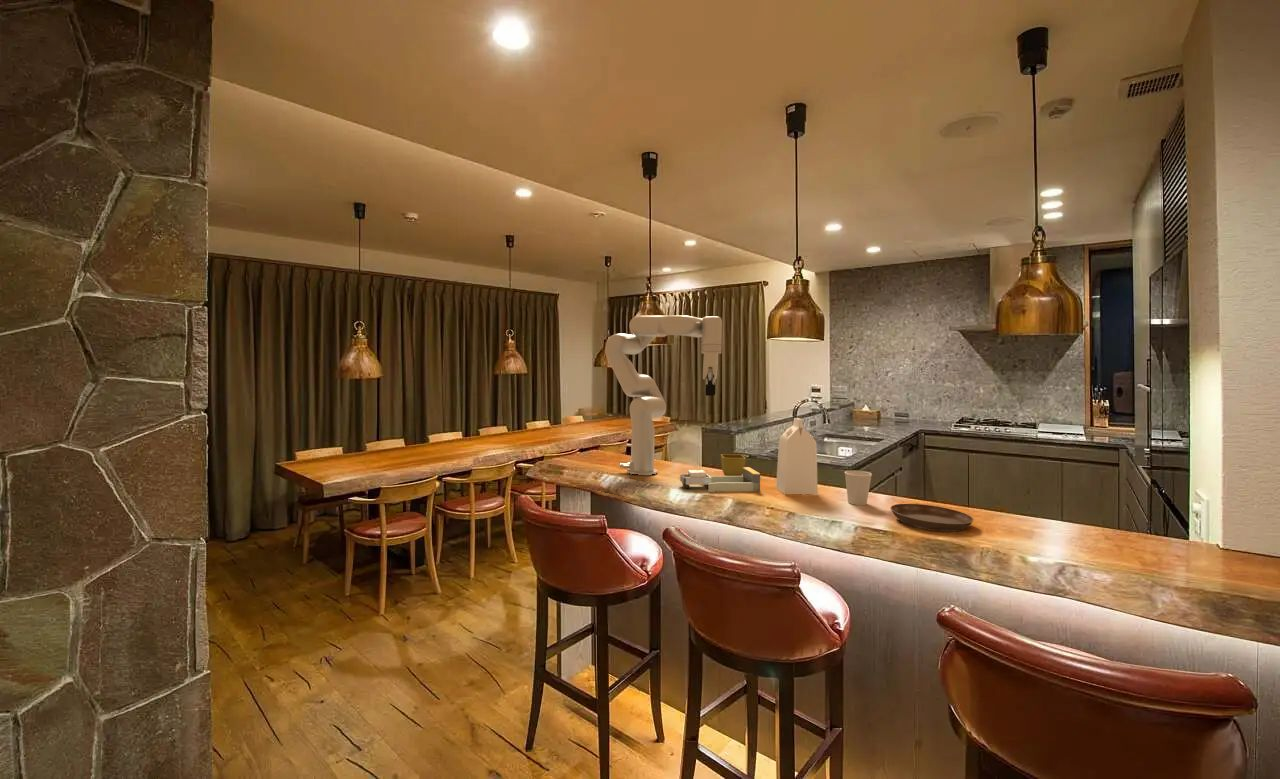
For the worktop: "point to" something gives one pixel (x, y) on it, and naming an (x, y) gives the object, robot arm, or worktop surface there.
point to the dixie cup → (857, 486)
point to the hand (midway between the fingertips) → (710, 395)
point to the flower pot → (732, 464)
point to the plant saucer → (931, 517)
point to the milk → (797, 461)
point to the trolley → (695, 478)
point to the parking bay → (736, 482)
